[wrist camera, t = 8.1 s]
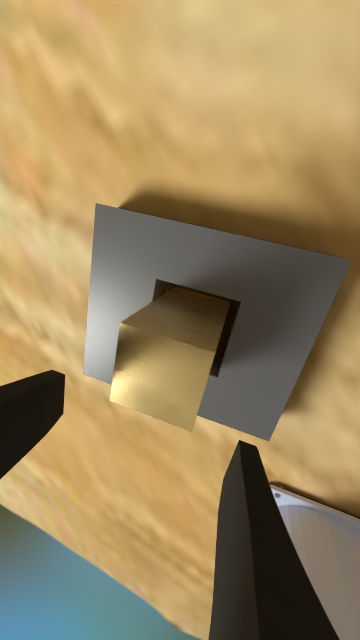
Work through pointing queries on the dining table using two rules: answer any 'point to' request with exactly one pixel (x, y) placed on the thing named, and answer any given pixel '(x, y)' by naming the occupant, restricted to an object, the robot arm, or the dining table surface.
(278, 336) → the grey flat slab
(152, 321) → the plug block
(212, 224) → the dining table surface
